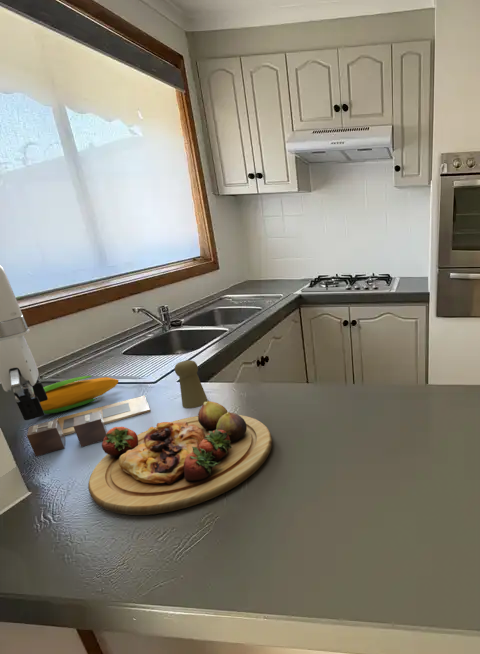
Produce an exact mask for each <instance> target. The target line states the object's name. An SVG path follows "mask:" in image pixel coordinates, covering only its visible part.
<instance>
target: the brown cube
mask: <svg viewBox="0 0 480 654" xmlns="http://www.w3.org/2000/svg"><path fill="white" fill-rule="evenodd" d="M73 427H74V430H75V432H76V433H75V434H76V437H77V440H78V442H79V445H80V447H81V448H83V447H86V446H87V447H88V446H91V445H93V444H97V443H100V442H103V440H104V438H105V436H106V433H107V432H108V429H107V425H106V424H105V423H104V420H103V417H102V415H101V412H100V411H98V412H95V413H91V414H87V415H83V416H80V417H76V418H74V426H73Z"/></svg>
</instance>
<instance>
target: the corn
mask: <svg viewBox="0 0 480 654" xmlns="http://www.w3.org/2000/svg"><path fill="white" fill-rule="evenodd" d="M92 376H93V375H92V374H91V375H83V376H76V377H73V378H69V379H64V380H61V381H58V382H55V383H52V384H49V385H45V386H43V388H44V390H45V392H46V395H47V397H48V399H47V400H46V401H42V402H40V404H41V406H42V409H43V411H44V415H51V414H59V413H62V412H65V411H68V410H73V409H75V408H79V407H82V406H86V405H88V404H90V403H92V402H94V401H96V400H97V399H96V398H98V397H100V396H102V395H104V394H106V393H107V392H109V391H110V390H112V389H114V388H115V387H116V386H117V385H118V384H119V379H117V378H113V377H108V376H105V377H104V376H103V377H98V378H91V377H92ZM89 378H90V379H89Z"/></svg>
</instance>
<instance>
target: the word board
mask: <svg viewBox="0 0 480 654" xmlns="http://www.w3.org/2000/svg"><path fill="white" fill-rule="evenodd" d="M98 411H100V412H101V415H102V417H103V420H104V423H105V425H108V424H112V423H115V422H118V421H122V420H126V419H128V418H132V417H133V418H134V417H136V416H139V415H144V414H146V413H151V408H150V405H149V403H148V400H147V397H146V394H145V395H140V396H137V397H132V398H129V399H126V400H125V399H124V400H122V401H117V402H114V403H110V404H105V405H103V406H98V407H95V408H91V409H87V410H83V411H80V412H75V413H72V414H68V415H64V416H61V417H57V418H54V419H53V420H56V419H58V422H59V424H60V427H61V429H62V432H63V434H64V437H65V436H68V435H72V434H76V432H75V430H74V427H73V426H74V418H76V417H80V416H83V415H87V414H91V413H95V412H98Z"/></svg>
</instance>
